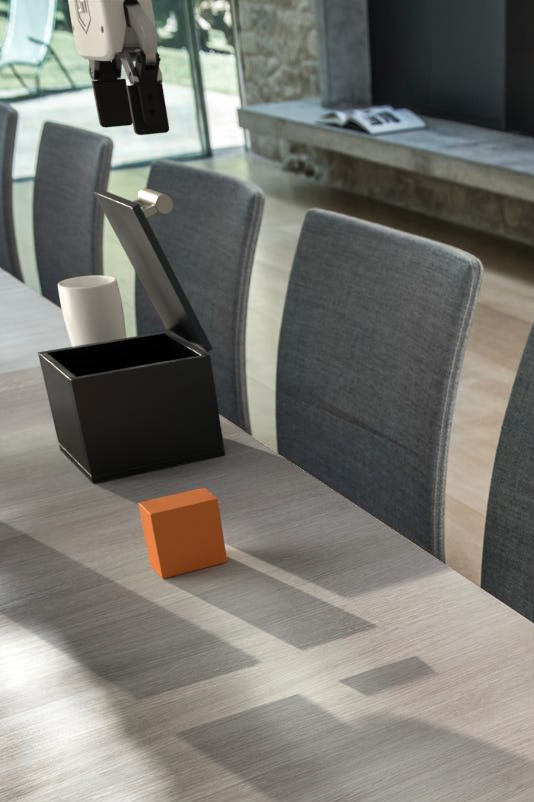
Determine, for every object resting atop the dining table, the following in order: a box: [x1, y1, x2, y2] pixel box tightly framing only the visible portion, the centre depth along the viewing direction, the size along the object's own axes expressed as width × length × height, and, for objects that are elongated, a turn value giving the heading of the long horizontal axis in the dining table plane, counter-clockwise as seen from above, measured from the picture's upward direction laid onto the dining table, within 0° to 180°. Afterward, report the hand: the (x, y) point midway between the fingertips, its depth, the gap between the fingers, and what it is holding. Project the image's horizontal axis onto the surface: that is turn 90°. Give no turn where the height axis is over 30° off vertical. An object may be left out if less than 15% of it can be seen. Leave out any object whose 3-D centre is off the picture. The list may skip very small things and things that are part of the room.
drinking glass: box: [57, 274, 127, 347], centre depth 136 cm, size 7×7×15 cm
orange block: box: [137, 487, 228, 579], centre depth 101 cm, size 6×3×6 cm, turn 122°
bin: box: [37, 330, 226, 484], centre depth 124 cm, size 15×13×11 cm
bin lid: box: [93, 187, 214, 353], centre depth 120 cm, size 15×13×5 cm
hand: (134, 129), depth 109 cm, fingers open, 9 cm apart
